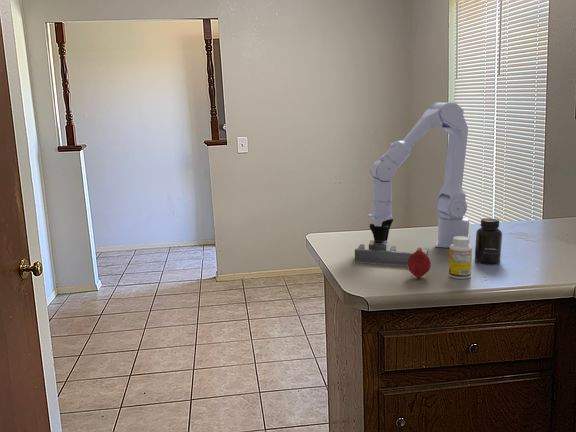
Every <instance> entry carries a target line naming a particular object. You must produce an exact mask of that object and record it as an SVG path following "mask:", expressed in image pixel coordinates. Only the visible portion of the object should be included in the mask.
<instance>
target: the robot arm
mask: <svg viewBox="0 0 576 432" xmlns="http://www.w3.org/2000/svg"><path fill="white" fill-rule="evenodd" d="M464 113H465V111H464V109H463V108H462V107H461V106H460V105H459V104H458V103H456V102H453V101H448V102H440V101H438V102H437V101H436V102H434V103H432V104H431V105H430V107H429V108H428V109H426V110H425V111H424V113H423V115H422V116H421V117H420V118H419V120H417V121H416V123H415V124H414V125H413V126H412V128H411V130H410V131H408V133H407V134H406V136H404V138H403V139H402V140H396V141H395V142H392V143H390V144H389V146H390V147H389V149H388V150H386V152H385V153H384V154H383V155H380V157H379V160H376V161H375V162H373V163H372V165H371V168H370V169H369V174H370V176H371V177H372V202H371V203H372V204H371V205H372V207H371V209H372V213H369V214H368V218H371V219H373V220H374V222H373V223H370V224H369V229H370V231H371V233H372V237H373V240H375V241H388V238H389V233H390V228H391V226H392V223H393V222H394V218H393V214H392V209H393V207H392V201H393V198H392V197H393V186H392V185H393V178H395V176H396V171H397V170H398V169H399V167H400V166H401V165H402V164H403V163H404V162H405V161H406V160H407V158H409V157H410V155H411V154H412V148H413V146H415V144H416V143H417V142H418V141H419V140H420V139H421V138H423V137H424V135H426V134H427V132H428V131H429V130H430V129H433V128H437V127H441V128H443V130H445V132H446V133H447V134H448V141H447V142H448V143H447V151H446V159H445V160H446V161H445V169H444V170H445V171H444V181H443V185H442V187H441V188H440V190H439V193H438V197H437V198H436V200H435V209H436V210H437V211H438V222H437V223H438V225H437V227H438V228H437V240H436V243H435V247H436V248H446V249H447V248H448V249H450V245H451V244H453V238H454V237H456V236H463V237H468V238H469V239H470V237H471V236H470V235H469V233H470V231H469V230H470V218H468V217H464V216H466V213H467V211H468V204H467V202H466V196H467V195H466V193H465V191H464V189H463V180H464V171H465V161H466V154H467V153H466V151H467V144H468V135H469V126H468V124H467V121H466V118H465V116H464Z"/></svg>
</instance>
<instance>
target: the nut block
mask: <svg viewBox="0 0 576 432" xmlns="http://www.w3.org/2000/svg"><path fill="white" fill-rule="evenodd" d="M368 250H382V251H388V240H387V241H375V240H374V239H373V240H370V241H369V243H368Z"/></svg>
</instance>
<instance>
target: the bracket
mask: <svg viewBox="0 0 576 432" xmlns="http://www.w3.org/2000/svg"><path fill="white" fill-rule="evenodd" d="M365 245H366V244H364V243H363V244H362V243H361V244H360V245H358V247H357V248H355V249H354V261H353V263H354V262H355V264H366V265H367V264H368V265H369V264H370V265H382V266H383V265H384V266H396V267H397V266H398V267H408V265H407V263H408V259H409V257H410V256H411V254H413V253H414V252H411V251H397V246H396V245H395V246H394V245H391V247H390V249H389V250H387V251H382V250H369V249H366V248H365V247H366V246H365ZM422 252H424V253H425V254H427V256H428V257H429V247H424V248H422Z"/></svg>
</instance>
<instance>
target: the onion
mask: <svg viewBox="0 0 576 432" xmlns="http://www.w3.org/2000/svg"><path fill="white" fill-rule="evenodd" d="M431 264H432V263H431V258H430V257H429V255H428V256H427V254H425V253H424V252H423V247H418V248H417V249H416V250H415V252H413V254H411V256H410V257H409V259H408V263H407V265H408V266H407V269H408V271H409V272H410V273H411V274H412V276H414V277H416V278H417V279H421V278H423V276H425V275H426V274H427V273H428V272H429V271H430V269H431Z"/></svg>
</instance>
